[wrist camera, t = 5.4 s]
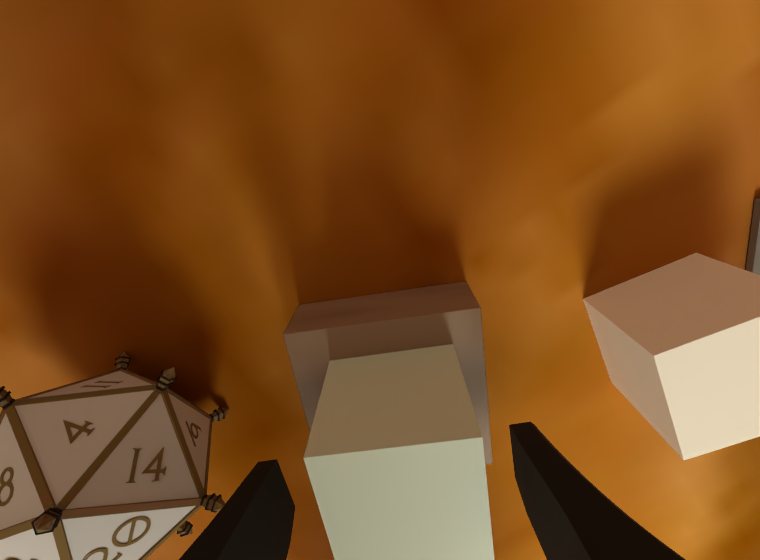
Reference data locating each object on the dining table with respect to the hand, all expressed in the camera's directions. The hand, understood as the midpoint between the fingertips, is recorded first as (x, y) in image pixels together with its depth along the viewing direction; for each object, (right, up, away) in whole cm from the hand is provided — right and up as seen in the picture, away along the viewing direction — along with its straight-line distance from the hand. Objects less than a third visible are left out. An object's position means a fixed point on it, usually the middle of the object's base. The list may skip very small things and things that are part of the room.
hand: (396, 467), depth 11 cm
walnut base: (0, +2, +6) cm, 6 cm away
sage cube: (0, +1, +3) cm, 3 cm away
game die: (-11, 0, +6) cm, 12 cm away
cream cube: (+11, +4, +4) cm, 12 cm away
